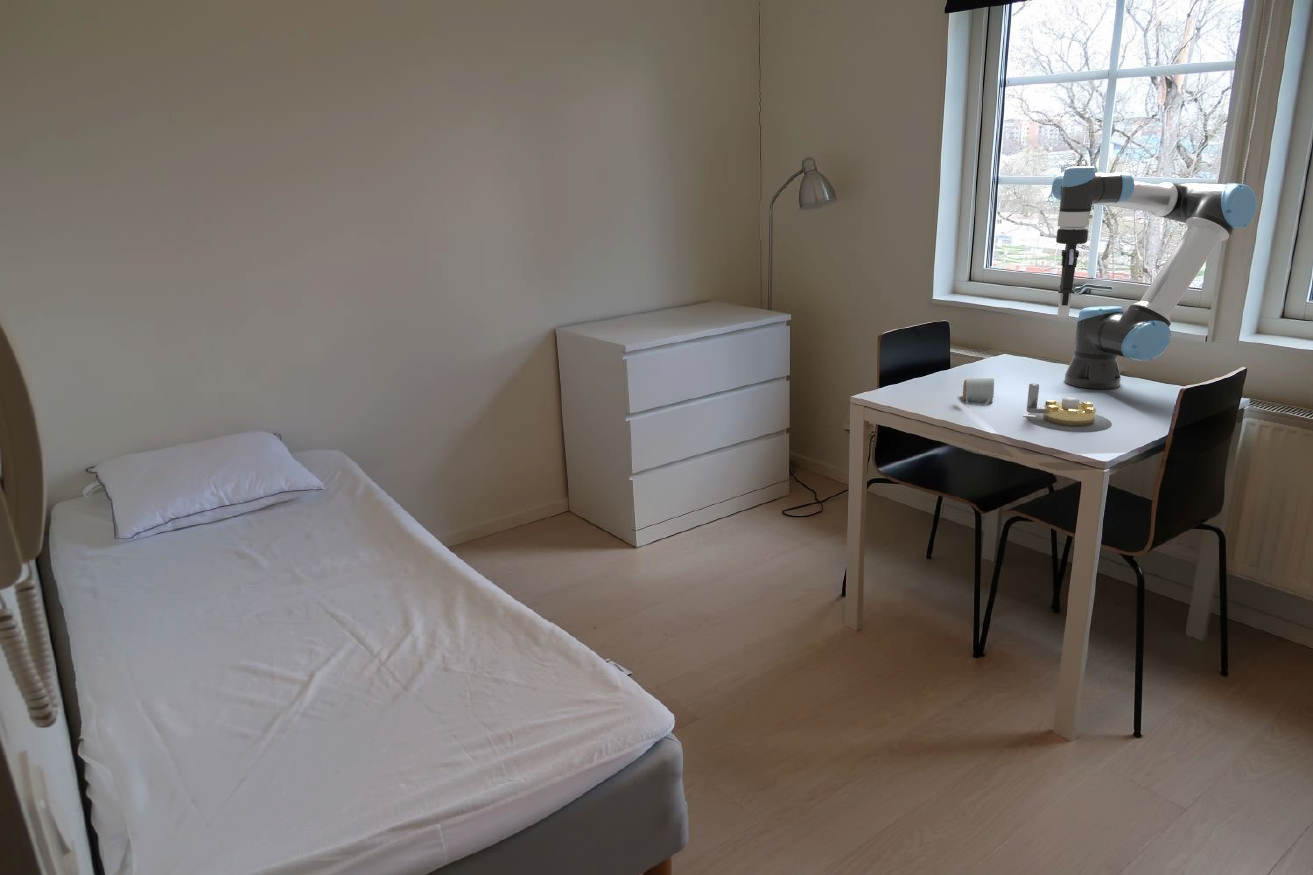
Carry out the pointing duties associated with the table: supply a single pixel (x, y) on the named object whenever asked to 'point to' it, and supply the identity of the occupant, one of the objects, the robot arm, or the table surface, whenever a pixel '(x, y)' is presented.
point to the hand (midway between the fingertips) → (1062, 316)
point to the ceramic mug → (978, 390)
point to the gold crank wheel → (1060, 410)
